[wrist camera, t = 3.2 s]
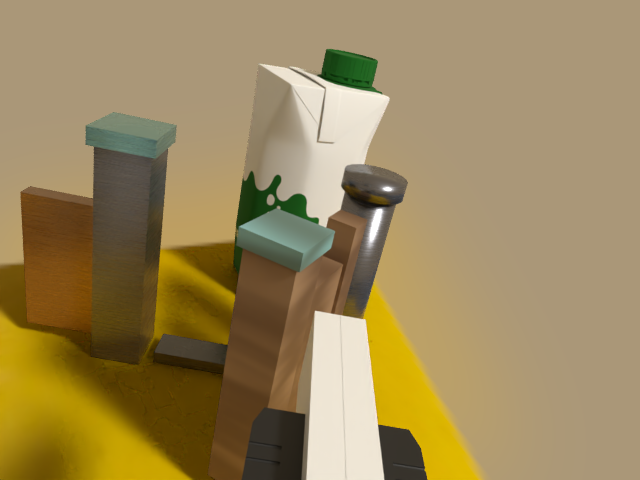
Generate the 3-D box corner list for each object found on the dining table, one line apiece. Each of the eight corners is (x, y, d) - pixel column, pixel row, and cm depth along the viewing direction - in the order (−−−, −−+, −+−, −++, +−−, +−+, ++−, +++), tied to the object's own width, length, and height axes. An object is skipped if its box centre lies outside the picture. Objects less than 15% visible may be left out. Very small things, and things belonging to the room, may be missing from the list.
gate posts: (16, 346, 31) (0, 108, 25) (46, 314, 35) (39, 96, 28) (348, 404, 33) (411, 192, 27) (346, 368, 36) (403, 172, 30)
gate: (249, 505, 24) (303, 253, 18) (201, 475, 25) (239, 226, 19) (330, 395, 31) (385, 195, 26) (291, 375, 32) (337, 178, 27)
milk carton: (345, 307, 43) (409, 70, 35) (244, 314, 39) (289, 49, 31) (308, 258, 50) (354, 50, 42) (219, 259, 46) (250, 31, 38)
